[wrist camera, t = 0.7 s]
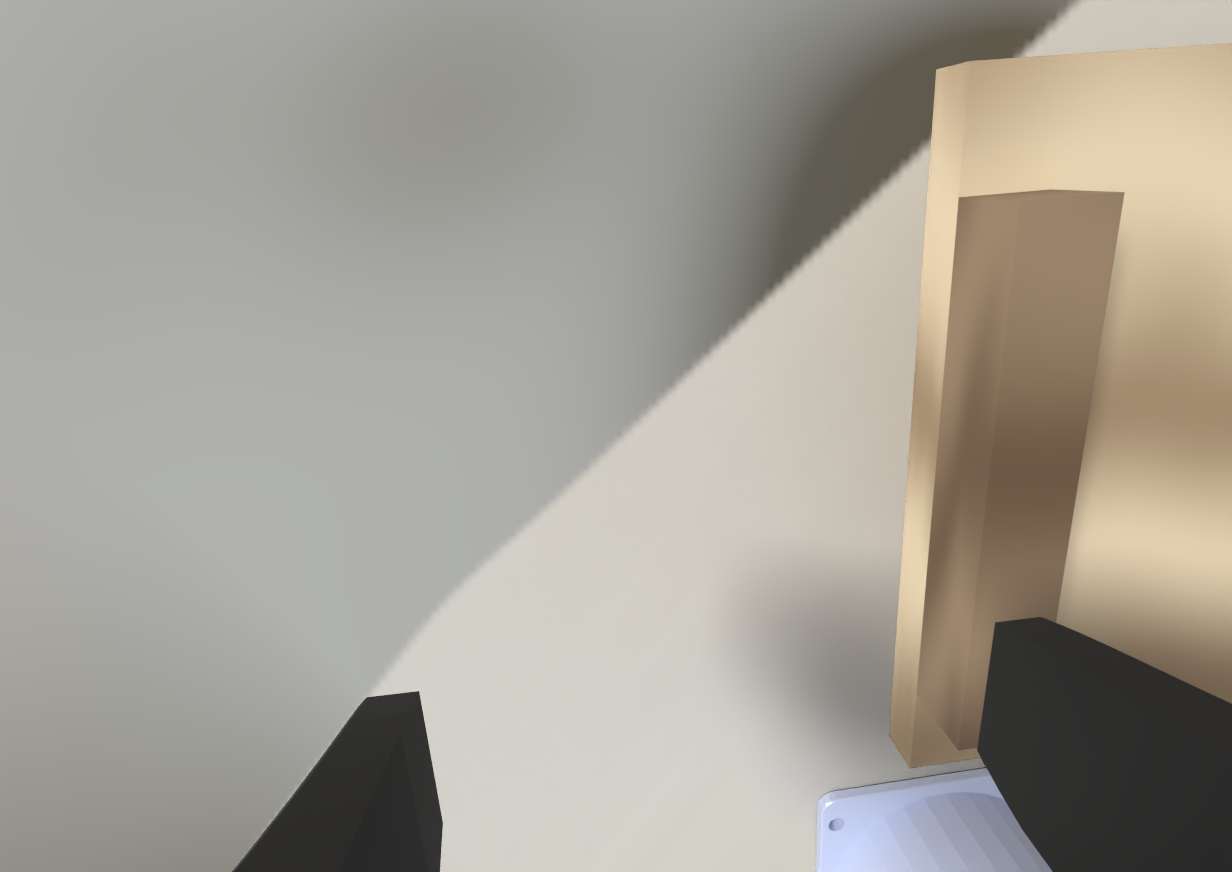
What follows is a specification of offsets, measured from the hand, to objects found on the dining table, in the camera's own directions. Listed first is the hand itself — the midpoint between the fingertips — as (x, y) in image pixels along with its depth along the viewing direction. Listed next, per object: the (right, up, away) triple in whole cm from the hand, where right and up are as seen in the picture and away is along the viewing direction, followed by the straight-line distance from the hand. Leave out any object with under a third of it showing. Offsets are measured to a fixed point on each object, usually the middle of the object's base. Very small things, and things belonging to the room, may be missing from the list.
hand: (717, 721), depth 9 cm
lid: (+11, +4, +6) cm, 13 cm away
